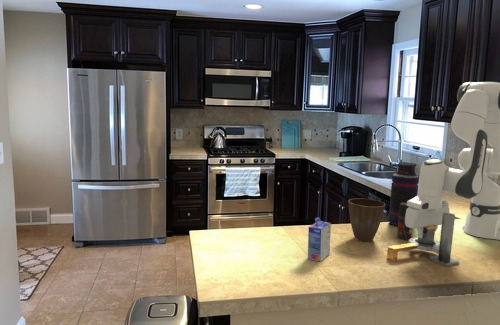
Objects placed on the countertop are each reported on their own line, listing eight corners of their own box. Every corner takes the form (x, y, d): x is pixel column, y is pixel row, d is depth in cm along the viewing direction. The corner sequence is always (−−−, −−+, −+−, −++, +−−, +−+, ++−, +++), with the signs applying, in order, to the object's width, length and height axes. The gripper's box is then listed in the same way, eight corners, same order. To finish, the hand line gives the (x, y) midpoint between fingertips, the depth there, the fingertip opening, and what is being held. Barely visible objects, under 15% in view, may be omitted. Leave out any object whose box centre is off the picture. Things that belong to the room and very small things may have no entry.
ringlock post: (423, 246, 167) (427, 203, 165) (463, 263, 151) (468, 215, 148) (379, 253, 157) (382, 208, 155) (416, 272, 141) (421, 221, 139)
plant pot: (351, 231, 185) (354, 196, 183) (385, 237, 177) (388, 201, 175) (341, 240, 172) (343, 202, 170) (377, 247, 165) (380, 208, 162)
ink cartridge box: (316, 250, 159) (318, 214, 157) (330, 253, 156) (332, 216, 154) (306, 258, 150) (308, 220, 148) (320, 262, 147) (323, 223, 145)
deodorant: (399, 234, 182) (402, 201, 180) (413, 237, 178) (416, 204, 176) (395, 237, 178) (398, 204, 175) (409, 241, 174) (412, 206, 172)
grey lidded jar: (424, 244, 162) (426, 222, 161) (434, 248, 158) (437, 225, 157) (415, 245, 160) (417, 223, 159) (425, 249, 156) (427, 227, 155)
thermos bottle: (406, 229, 190) (411, 165, 185) (383, 223, 199) (388, 162, 194) (421, 225, 198) (427, 163, 194) (398, 219, 208) (404, 160, 203)
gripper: (441, 198, 164) (438, 231, 166) (403, 201, 155) (400, 237, 157) (455, 201, 158) (451, 236, 160) (416, 205, 150) (413, 242, 152)
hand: (426, 236), depth 159 cm, fingers closed on grey lidded jar, 4 cm apart
